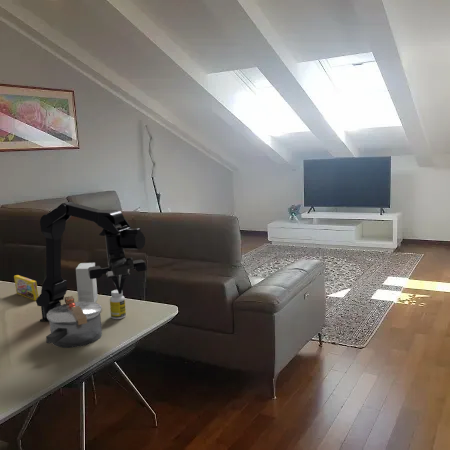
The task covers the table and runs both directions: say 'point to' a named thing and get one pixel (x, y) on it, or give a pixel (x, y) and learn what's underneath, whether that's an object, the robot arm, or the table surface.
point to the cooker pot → (75, 333)
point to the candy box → (26, 287)
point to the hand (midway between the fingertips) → (120, 293)
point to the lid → (74, 312)
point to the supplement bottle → (117, 305)
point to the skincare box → (86, 284)
